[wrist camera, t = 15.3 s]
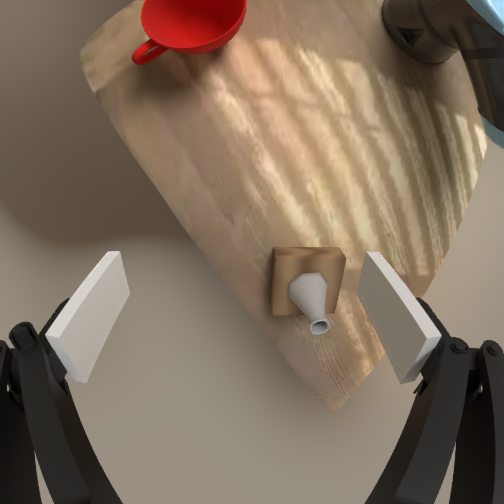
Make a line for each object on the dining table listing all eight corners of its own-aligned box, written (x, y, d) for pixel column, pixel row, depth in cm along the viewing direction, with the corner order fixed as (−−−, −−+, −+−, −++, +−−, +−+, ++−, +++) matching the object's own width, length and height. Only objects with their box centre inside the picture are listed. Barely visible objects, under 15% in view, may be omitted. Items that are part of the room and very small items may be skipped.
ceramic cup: (128, 47, 31) (100, 33, 22) (211, -17, 26) (203, -45, 17) (176, 96, 36) (155, 91, 27) (264, 31, 31) (269, 8, 22)
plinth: (339, 247, 48) (346, 258, 45) (329, 300, 54) (334, 313, 50) (273, 247, 48) (275, 258, 44) (270, 302, 53) (271, 315, 50)
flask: (322, 265, 45) (339, 302, 36) (331, 297, 48) (346, 335, 39) (281, 279, 46) (289, 318, 37) (293, 309, 49) (302, 349, 41)
